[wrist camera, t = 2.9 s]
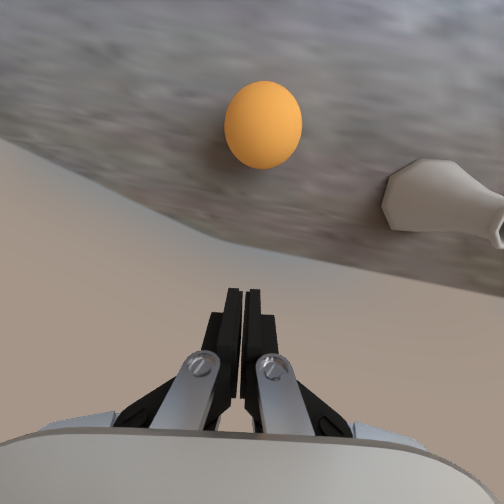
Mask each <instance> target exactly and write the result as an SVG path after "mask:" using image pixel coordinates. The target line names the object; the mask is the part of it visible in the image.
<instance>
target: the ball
mask: <svg viewBox="0 0 504 504" xmlns="http://www.w3.org/2000/svg"><path fill="white" fill-rule="evenodd" d="M224 129H225V136H226V140H227V143H228V146H229V148H230V149H231V151H232V153H233V154H234V155H235V157H236V158H237V159H238V160H240V161H241V162H242V163H244V164H245V165H247V166H250V167H252V168H256V169H268V168H272V167H275V166H278V165H280V164H281V163H283V162H284V161H285V160H287V159H288V158H289V157H290V156H291V155H292V153H293V152H294V150H295V149H296V147H297V145H298V143H299V140H300V136H301V131H302V117H301V112H300V109H299V106H298V104H297V102H296V100H295V98H294V97H293V95H292V94H291V93H290V92H289V91H288V90H287V89H286V88H284V87H283V86H281V85H279V84H277V83H274V82H270V81H258V82H254V83H251V84H249V85H247V86H245V87H244V88H242V89H241V90H240V91H239V92H238V93H237V94H236V95H235V96H234V98H233V99H232V101H231V102H230V104H229V106H228V109H227V112H226V116H225V124H224Z"/></svg>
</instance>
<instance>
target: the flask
mask: <svg viewBox="0 0 504 504" xmlns="http://www.w3.org/2000/svg"><path fill="white" fill-rule="evenodd" d="M381 208H382V210H383V212H384V215H385V217H386V219H387V221H388V224H389V226H390V228H391V230H400V231H413V232H442V231H444V232H461V233H467V234H473V235H476V236H479V237H481V238H484V239H487V240H489V241H490V242H491V246H492V247H494V248H495V249H500V250H504V196H501V195H499V194H497V193H494V192H492V191H490V190H488V189H487V188H486V187H484V186H483V185H482V184H480V183H479V182H478V181H476V180H475V179H474V178H472V177H471V176H470V175H468V174H467V173H466V172H465V171H464V170H463V169H462V168H460V167H459V166H458V165H457V164H456V163H454V162H453V161H449V160H436V159H422V158H420V159H419V160H417V161H415V162H413V163H412V164H410V165H408V166H406V167H405V168H403V169H401V170H399V171H398V172H396V173H394V174H393V175H391V176H390V177H389V180H388V184H387V187H386V190H385V194H384V197H383V201H382V204H381Z"/></svg>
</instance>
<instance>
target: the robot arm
mask: <svg viewBox="0 0 504 504" xmlns="http://www.w3.org/2000/svg"><path fill="white" fill-rule="evenodd" d="M242 297H243V291H239V288H229V289H228V293H227V298H226V303H225V307H224V312H223V313H218V312H212V313H211V316H210V319H209V323H208V326H207V330H206V334H205V337H204V341H203V344H202V348H201V351H197V352H195V353H192V354H191V355H190V356H188V357H187V359H186V360H185V361H184V363H183V365H182V367H181V369H180V371H179V373H178V374H177V376H175V377H174V378H172V379H171V380H169V381H168V382H166V383H164V384H163V385H161V386H160V387H158V388H156V389H155V390H153V391H152V392H150V393H149V394H147V395H145V396H144V397H142V398H141V399H139V400H138V401H136V402H134V403H133V404H132V405H130V406H128V407H127V408H126V409H125V410H123V411H122V412H121V413H117V414H116V413H115V411H110V412H105V413H100V414H94V415H88V416H83V417H77V418H72V419H66V420H61V421H57V422H53V423H50V424H48V425H46V426H45V427H43V428H41V429H40V430H39V431H37V432H35V433H31V434H26V435H23V436H20V437H17V438H14V439H11V440H8V441H5V442H3V443H0V504H503V503H502V502H501V501H500V500H499V499H498V497H496V496H495V494H494V493H493V492H492V491H491V490H490V489H489V488H488V487H487V486H486V485H484V484H483V483H482V482H481V481H480V480H479V479H477V478H476V477H475V476H473V475H472V474H471V473H469V472H468V471H466V470H464V469H462V468H461V467H459V466H457V465H456V464H453V463H452V462H450V461H448V460H446V459H444V458H442V457H439V456H437V455H434V454H432V453H430V452H429V451H428V450H427V448H426V447H425V446H423V445H422V444H421V443H420V442H418V441H417V440H415V439H412V438H410V437H407V436H403V435H400V434H397V433H393V432H389V431H386V430H382V429H379V428H375V427H372V426H368V425H365V424H361V423H358V422H354V424H349V423H347V422H346V421H345V420H344V419H343V418H342V417H341V416H340V415H339V414H338V413H337V412H335V411H334V410H333V409H332V408H331V407H329V406H328V405H327V404H326V403H324V402H323V401H322V400H321V399H320V398H318V397H317V396H316V395H315V394H313V393H312V392H311V391H310V390H308V389H307V388H306V387H305V386H304V385H302V384H301V383H300V382H299V381H297V380H296V378H295V374H294V372H293V369H292V366H291V364H290V362H289V361H288V360H287V359H286V358H285V357H283V356H281V355H279V353H278V344H277V335H276V326H275V317H274V315H262V314H261V301H260V289H259V290H258V289H250V292H246V296H245V297H246V298H245V310H244V323H243V337H242V356H241V384H240V399H241V398H243V399H245V409H246V410H247V411H248V412H249V414H250V415H251V416H252V425H253V433H246V432H224V431H218V427H219V424H220V419H221V414H222V413H223V412H224V411H225V410H227V409H228V408H229V407H230V406H231V398H236V392H237V380H238V367H239V356H240V344H241V327H242Z"/></svg>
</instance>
